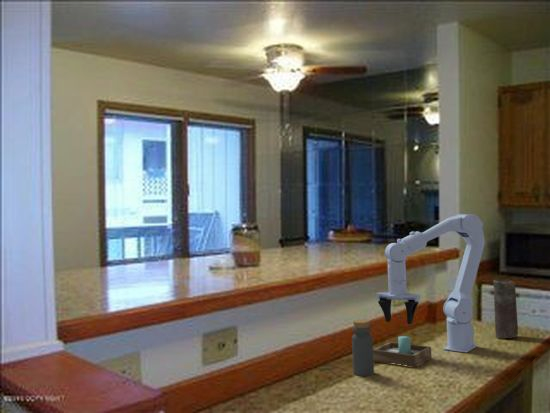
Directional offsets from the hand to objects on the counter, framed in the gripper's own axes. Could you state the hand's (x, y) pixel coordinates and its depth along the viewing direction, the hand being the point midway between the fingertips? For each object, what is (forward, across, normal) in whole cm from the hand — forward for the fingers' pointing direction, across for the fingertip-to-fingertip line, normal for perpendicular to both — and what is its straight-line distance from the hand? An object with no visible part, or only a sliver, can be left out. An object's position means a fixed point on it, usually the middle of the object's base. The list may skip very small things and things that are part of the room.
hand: (399, 322), depth 183 cm
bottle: (+10, +1, -25) cm, 27 cm away
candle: (+10, +22, +37) cm, 44 cm away
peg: (+10, +5, -7) cm, 13 cm away
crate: (+10, +4, -7) cm, 13 cm away
